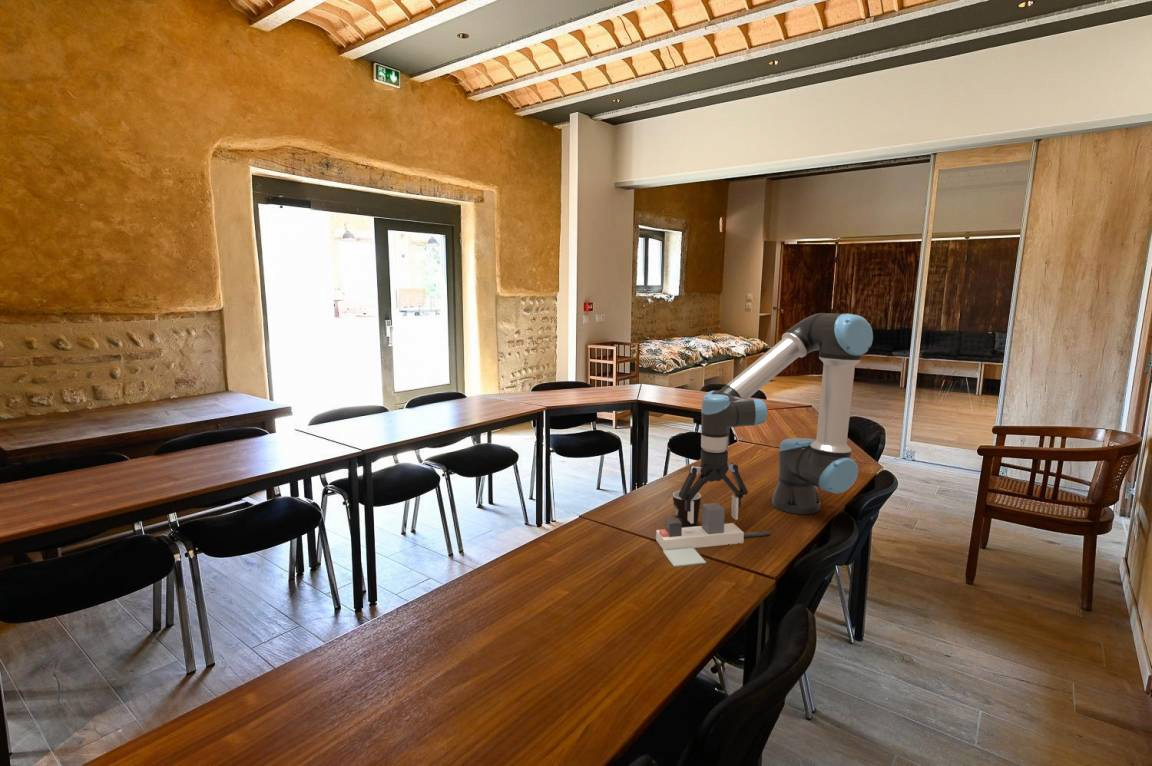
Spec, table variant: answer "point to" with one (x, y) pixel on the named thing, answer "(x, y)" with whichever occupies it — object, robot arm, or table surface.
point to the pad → (684, 557)
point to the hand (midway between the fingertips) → (712, 519)
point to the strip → (699, 536)
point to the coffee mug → (682, 513)
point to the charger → (713, 518)
